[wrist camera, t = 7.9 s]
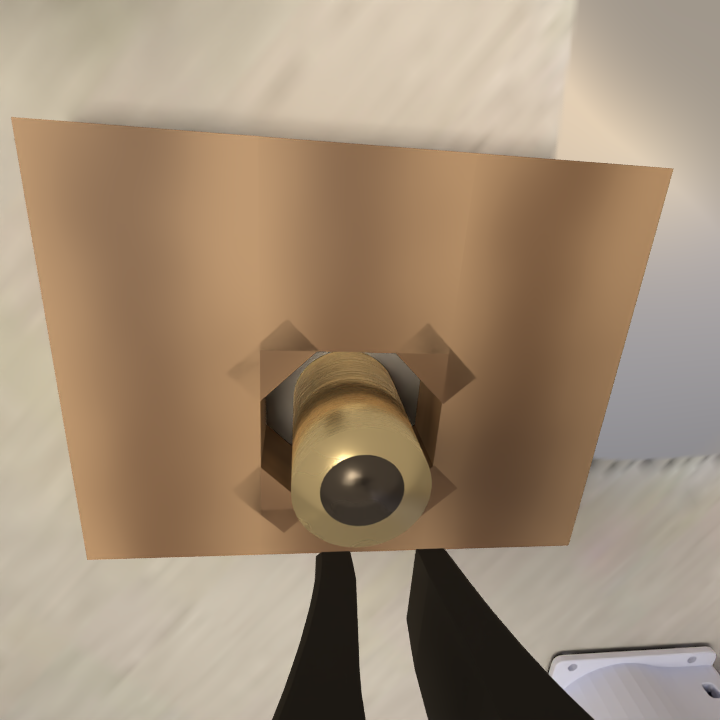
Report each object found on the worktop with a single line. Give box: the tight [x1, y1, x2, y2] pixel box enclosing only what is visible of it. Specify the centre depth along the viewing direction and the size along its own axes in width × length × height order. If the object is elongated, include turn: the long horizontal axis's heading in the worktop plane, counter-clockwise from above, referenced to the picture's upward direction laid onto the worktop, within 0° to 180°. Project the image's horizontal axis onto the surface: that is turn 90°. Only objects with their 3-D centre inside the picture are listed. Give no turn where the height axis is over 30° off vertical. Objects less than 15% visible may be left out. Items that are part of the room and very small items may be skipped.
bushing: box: [291, 352, 432, 547], centre depth 17 cm, size 4×4×6 cm
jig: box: [11, 117, 673, 560], centre depth 17 cm, size 18×14×3 cm
